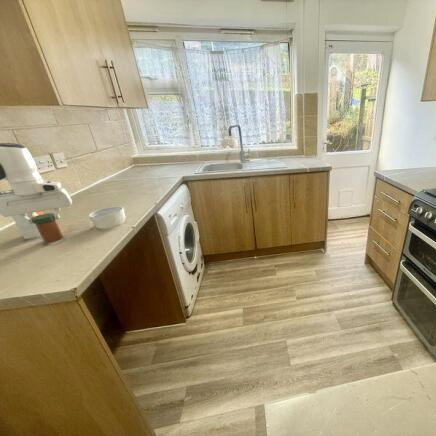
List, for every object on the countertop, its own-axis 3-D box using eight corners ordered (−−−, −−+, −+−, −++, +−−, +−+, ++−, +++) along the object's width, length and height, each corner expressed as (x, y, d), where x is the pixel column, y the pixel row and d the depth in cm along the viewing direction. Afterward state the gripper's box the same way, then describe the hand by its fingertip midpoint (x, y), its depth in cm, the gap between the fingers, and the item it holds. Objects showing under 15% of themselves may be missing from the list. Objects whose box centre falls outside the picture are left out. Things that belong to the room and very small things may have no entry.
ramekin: (108, 219, 121) (103, 206, 118) (134, 218, 120) (129, 205, 117) (87, 231, 109) (81, 217, 106) (115, 231, 108) (110, 216, 105)
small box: (43, 236, 104) (28, 208, 99) (24, 239, 103) (8, 211, 97) (52, 229, 111) (38, 202, 106) (35, 231, 110) (20, 204, 104)
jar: (43, 245, 97) (31, 221, 93) (46, 240, 102) (35, 216, 98) (62, 241, 100) (52, 218, 96) (64, 236, 105) (54, 213, 101)
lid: (31, 225, 93) (29, 221, 93) (35, 220, 98) (33, 215, 97) (54, 221, 97) (52, 216, 96) (56, 216, 102) (55, 212, 101)
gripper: (-14, 195, 84) (5, 230, 90) (62, 184, 95) (76, 217, 100) (-8, 190, 89) (11, 224, 95) (65, 181, 99) (78, 212, 105)
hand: (45, 220), depth 98 cm, fingers closed on lid, 6 cm apart
